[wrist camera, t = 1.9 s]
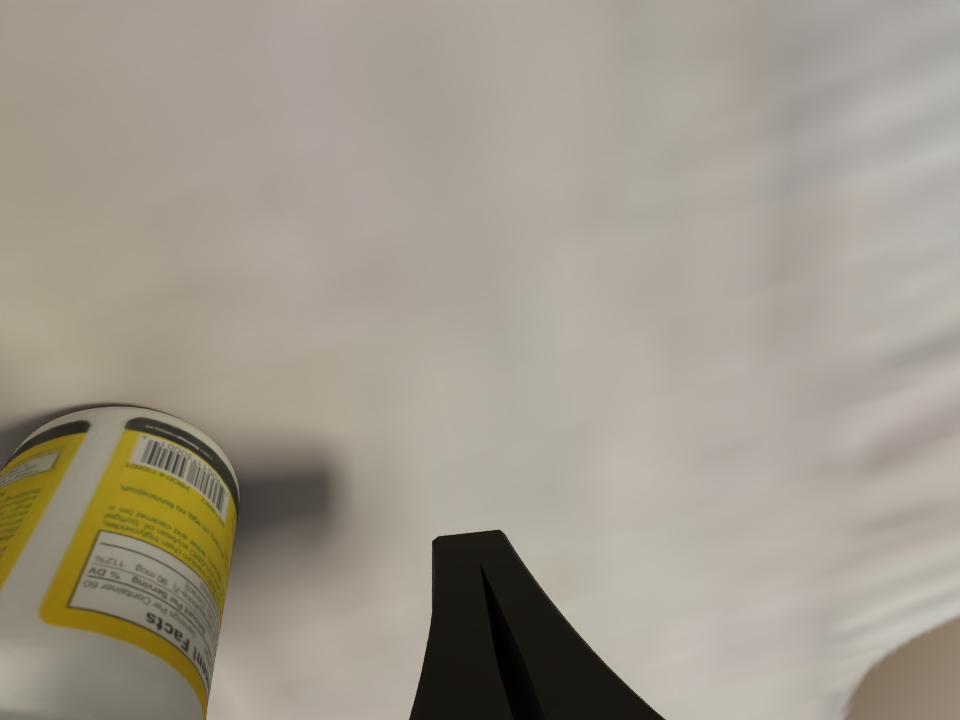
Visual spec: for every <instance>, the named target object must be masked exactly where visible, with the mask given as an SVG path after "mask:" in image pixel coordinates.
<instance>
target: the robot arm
mask: <svg viewBox="0 0 960 720" xmlns="http://www.w3.org/2000/svg"><path fill="white" fill-rule="evenodd" d="M409 720H665V719H664V718H663V717H662V716H660V715H659V714H658V713H657V712H656V711H655V710H653V709H652V708H651V707H650V706H649V705H648V704H647V703H646V702H645V701H644V700H643V699H641V698H640V697H639V696H638V695H637V694H636V693H635V692H634V691H633V690H632V689H631V688H630V687H629V686H628V685H627V684H625V683H624V682H623V681H622V680H621V679H620V678H619V677H618V676H617V675H616V674H615V673H614V672H613V671H612V670H611V669H610V668H609V667H608V666H607V665H606V664H605V663H604V661H603V660H602V659H601V658H600V657H599V656H598V655H597V654H596V653H595V652H594V651H593V650H592V649H591V647H590V646H589V645H588V644H587V643H586V642H585V641H584V640H583V638H582V637H581V636H580V635H579V634H578V633H577V632H576V631H575V629H574V628H573V627H572V626H571V625H570V623H569V622H568V621H567V620H566V619H565V617H564V616H563V615H562V614H561V612H560V611H559V610H558V609H557V607H556V606H555V605H554V604H553V602H552V601H551V600H550V599H549V597H548V596H547V595H546V594H545V592H544V591H543V590H542V588H541V587H540V586H539V584H538V583H537V581H536V580H535V579H534V577H533V576H532V574H531V573H530V572H529V570H528V569H527V567H526V566H525V565H524V563H523V562H522V560H521V559H520V557H519V556H518V554H517V553H516V551H515V550H514V548H513V546H512V545H511V543H510V542H509V540H508V538H507V537H506V535H505V534H504V533H503V532H502V531H501V530H492V531H483V532H474V533H465V534H456V535H447V536H438V537H437V538H436V539H435V540H433V541H432V617H431V625H430V632H429V637H428V642H427V647H426V652H425V657H424V662H423V667H422V672H421V676H420V680H419V685H418V689H417V693H416V697H415V700H414V704H413V708H412V711H411V715H410V719H409Z"/></svg>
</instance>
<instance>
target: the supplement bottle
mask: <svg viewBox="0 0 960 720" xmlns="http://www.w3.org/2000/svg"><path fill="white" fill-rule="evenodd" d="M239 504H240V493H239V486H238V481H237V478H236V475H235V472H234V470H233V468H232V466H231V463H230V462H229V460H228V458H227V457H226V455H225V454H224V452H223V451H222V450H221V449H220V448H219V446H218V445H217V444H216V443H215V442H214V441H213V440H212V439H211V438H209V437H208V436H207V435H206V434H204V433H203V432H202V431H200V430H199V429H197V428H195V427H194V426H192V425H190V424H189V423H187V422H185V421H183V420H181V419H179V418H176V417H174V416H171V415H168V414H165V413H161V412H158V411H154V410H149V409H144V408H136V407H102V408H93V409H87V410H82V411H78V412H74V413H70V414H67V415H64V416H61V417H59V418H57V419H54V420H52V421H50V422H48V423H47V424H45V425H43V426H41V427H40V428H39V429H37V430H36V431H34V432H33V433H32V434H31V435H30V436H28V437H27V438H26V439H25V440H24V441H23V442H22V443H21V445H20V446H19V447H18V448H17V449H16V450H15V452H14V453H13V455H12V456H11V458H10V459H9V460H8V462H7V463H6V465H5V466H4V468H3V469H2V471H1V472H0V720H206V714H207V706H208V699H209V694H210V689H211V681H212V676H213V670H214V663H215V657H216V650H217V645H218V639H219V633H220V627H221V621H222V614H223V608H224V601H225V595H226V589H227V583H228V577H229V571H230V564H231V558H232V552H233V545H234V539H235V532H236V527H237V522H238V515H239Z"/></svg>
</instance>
